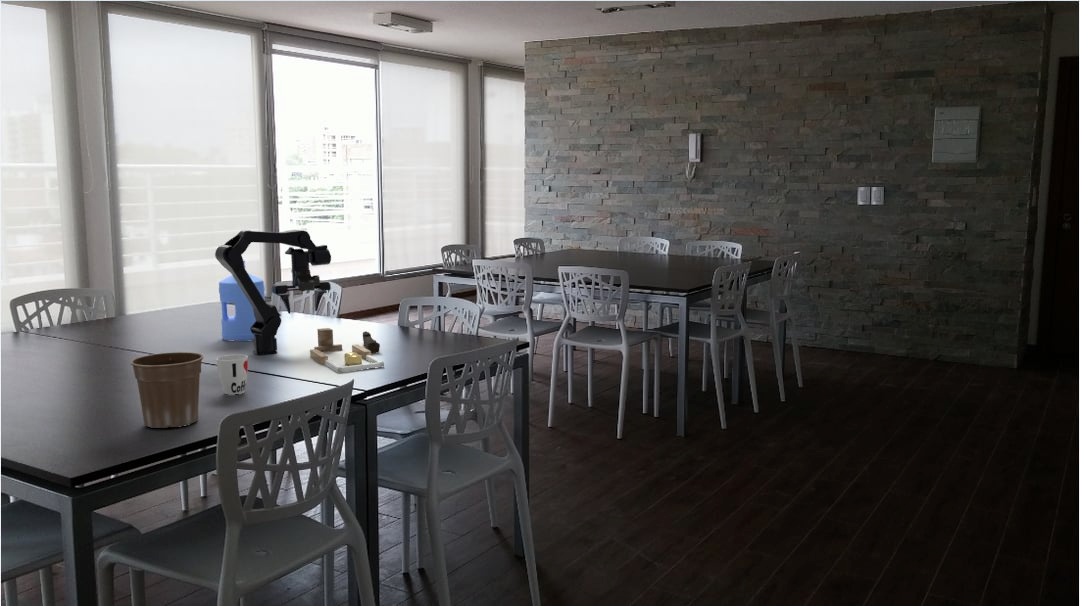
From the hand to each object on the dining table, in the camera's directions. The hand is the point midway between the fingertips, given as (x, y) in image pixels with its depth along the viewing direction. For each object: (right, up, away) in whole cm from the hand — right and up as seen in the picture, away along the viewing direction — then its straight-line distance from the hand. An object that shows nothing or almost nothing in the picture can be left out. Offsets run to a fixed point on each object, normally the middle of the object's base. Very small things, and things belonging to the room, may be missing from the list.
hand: (302, 312), depth 306 cm
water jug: (-26, -10, +19) cm, 34 cm away
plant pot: (-8, -26, -89) cm, 93 cm away
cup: (-3, -22, -60) cm, 64 cm away
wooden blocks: (+17, -15, -17) cm, 28 cm away
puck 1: (+22, -16, -26) cm, 38 cm away
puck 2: (+24, -17, -30) cm, 42 cm away
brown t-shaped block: (+9, -13, -3) cm, 16 cm away
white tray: (+24, -16, -29) cm, 41 cm away
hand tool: (+23, -13, -1) cm, 26 cm away
